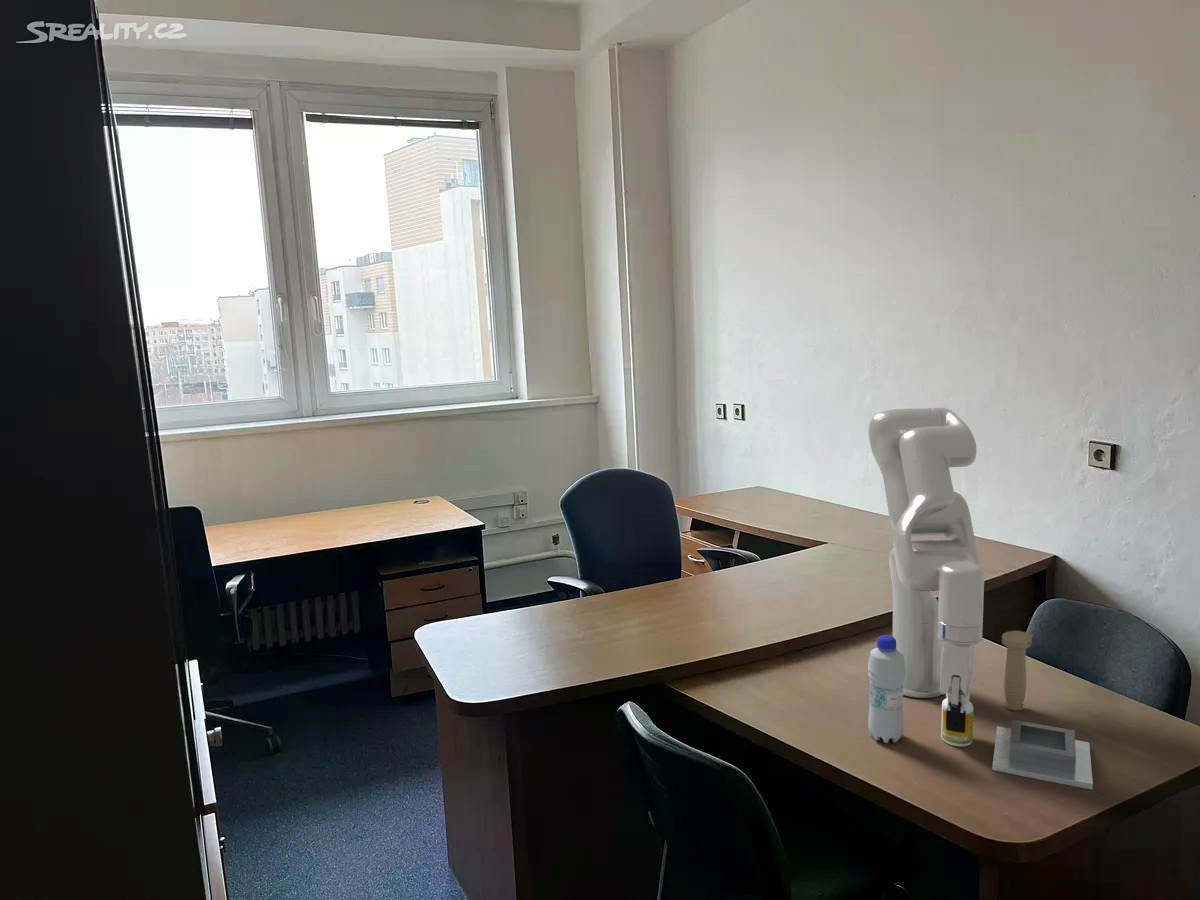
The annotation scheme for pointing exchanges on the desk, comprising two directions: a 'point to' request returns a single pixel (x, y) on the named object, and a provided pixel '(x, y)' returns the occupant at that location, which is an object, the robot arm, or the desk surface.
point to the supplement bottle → (958, 737)
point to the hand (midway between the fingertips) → (957, 722)
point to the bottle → (886, 690)
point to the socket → (1043, 754)
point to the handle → (1015, 668)
